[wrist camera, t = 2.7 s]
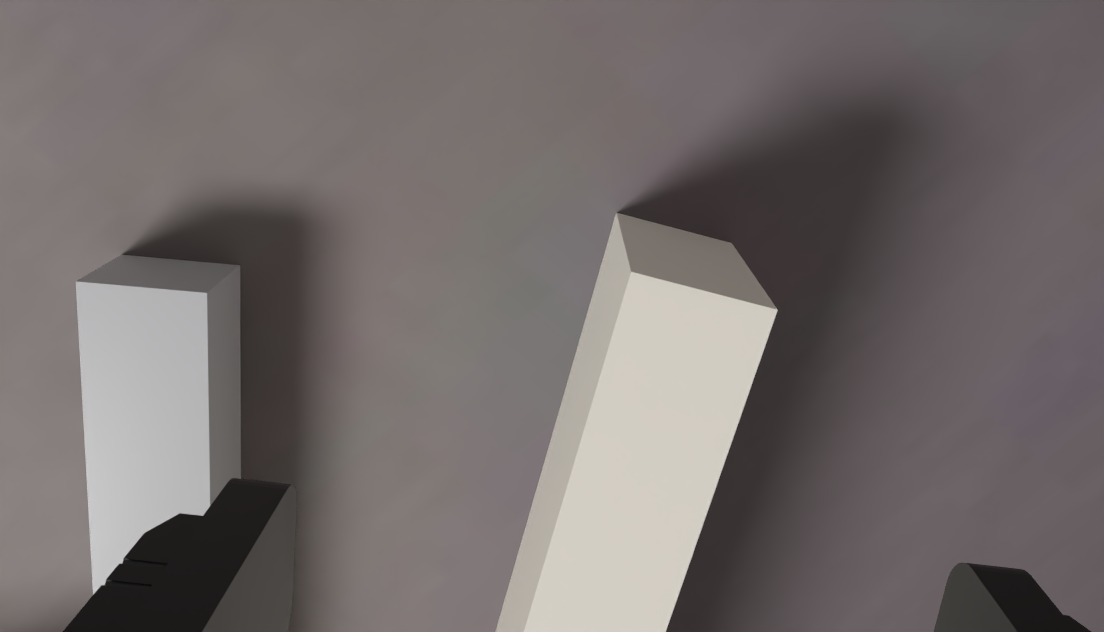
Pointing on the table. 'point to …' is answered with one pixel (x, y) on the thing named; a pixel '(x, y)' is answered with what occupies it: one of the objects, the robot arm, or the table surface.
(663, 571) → the white bar
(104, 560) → the grey stick
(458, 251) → the table surface
